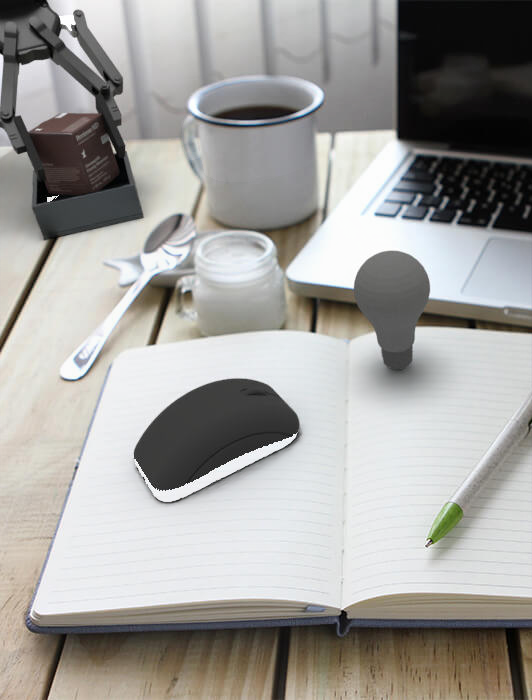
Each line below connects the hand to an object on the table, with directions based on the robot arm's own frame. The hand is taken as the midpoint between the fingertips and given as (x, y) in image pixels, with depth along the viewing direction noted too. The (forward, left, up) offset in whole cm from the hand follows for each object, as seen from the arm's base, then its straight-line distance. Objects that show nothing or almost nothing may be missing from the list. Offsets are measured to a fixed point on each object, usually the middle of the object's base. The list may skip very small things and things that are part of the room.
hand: (82, 163), depth 85 cm
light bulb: (+45, -7, -7) cm, 46 cm away
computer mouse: (+39, -21, -7) cm, 44 cm away
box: (-3, +1, -4) cm, 5 cm away
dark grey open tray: (-3, +1, -7) cm, 7 cm away
